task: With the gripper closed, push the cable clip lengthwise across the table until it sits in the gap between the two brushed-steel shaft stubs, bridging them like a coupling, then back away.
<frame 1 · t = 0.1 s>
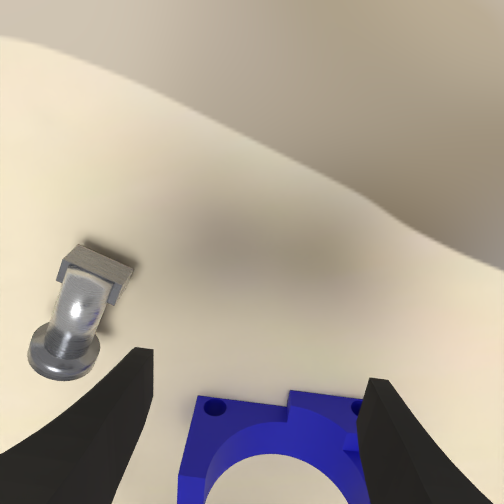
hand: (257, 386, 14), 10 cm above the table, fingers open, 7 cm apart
cable clip: (285, 410, 28), on the table
shaft B: (82, 328, 26), on the table
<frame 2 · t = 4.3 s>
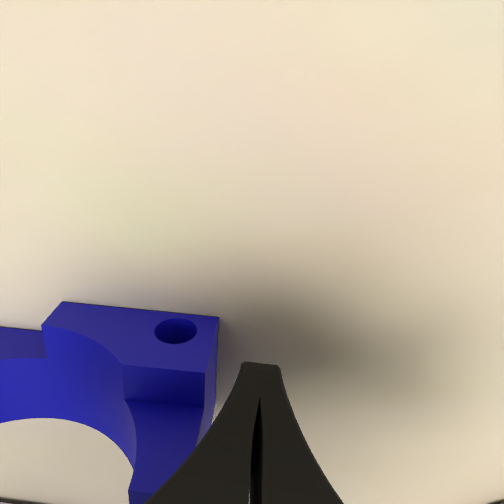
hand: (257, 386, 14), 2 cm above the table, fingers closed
cable clip: (71, 345, 17), on the table, touching gripper
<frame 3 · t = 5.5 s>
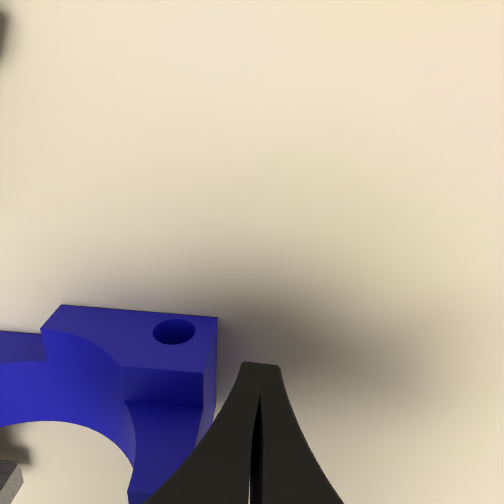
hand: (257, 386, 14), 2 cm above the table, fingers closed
cable clip: (71, 348, 17), on the table, touching gripper
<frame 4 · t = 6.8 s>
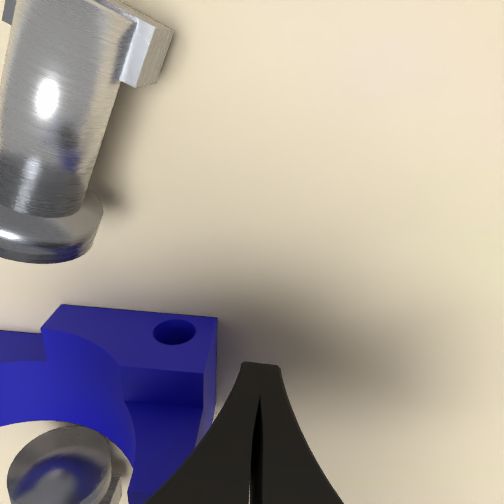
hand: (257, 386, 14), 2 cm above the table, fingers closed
cable clip: (71, 348, 17), on the table, touching gripper
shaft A: (89, 411, 18), on the table
shaft B: (69, 194, 14), on the table
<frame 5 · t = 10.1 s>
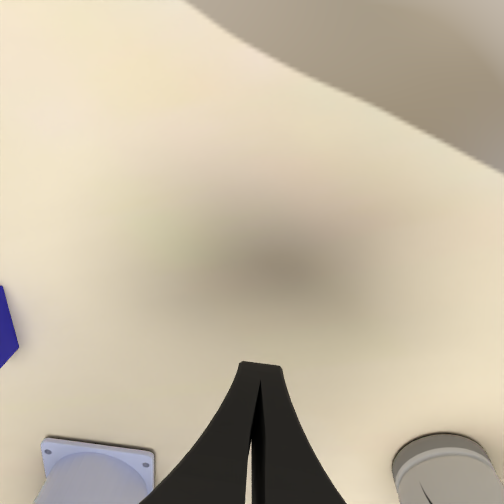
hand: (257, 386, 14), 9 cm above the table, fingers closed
travel mug: (440, 462, 28), on the table
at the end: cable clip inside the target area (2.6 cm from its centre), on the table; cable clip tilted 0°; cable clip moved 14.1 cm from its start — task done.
